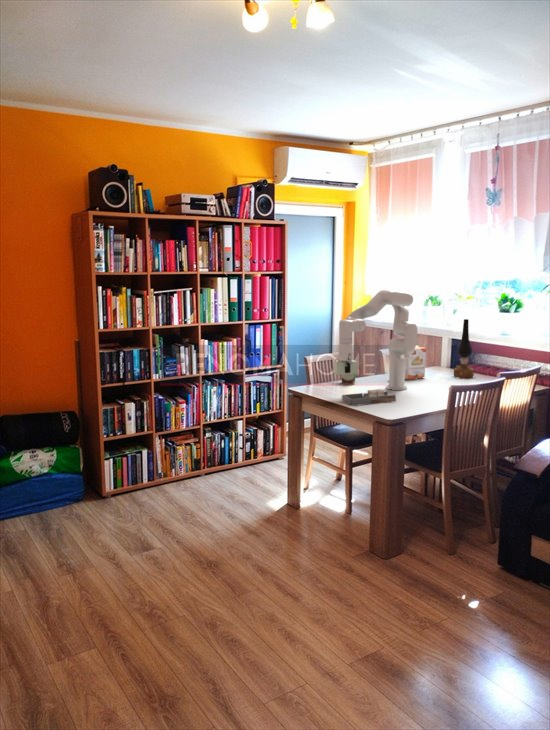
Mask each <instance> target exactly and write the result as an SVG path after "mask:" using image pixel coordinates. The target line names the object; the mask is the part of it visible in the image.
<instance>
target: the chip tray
mask: <svg viewBox="0 0 550 730" xmlns="http://www.w3.org/2000/svg"><path fill="white" fill-rule="evenodd" d="M342 400H343V401H344V403H345V402H346V403H345V404H347V403H348V404H347V405H349V404H350V405H349V406H351V405H353V406H359V405H358V404H364V405H371V404H370V403H372V397H371V398H365V397H363V393H362V392H361V393H350V394H342V395H341V401H342ZM343 401H342V402H343ZM372 404H373V403H372Z"/></svg>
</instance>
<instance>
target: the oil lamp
mask: <svg viewBox="0 0 550 730" xmlns="http://www.w3.org/2000/svg"><path fill="white" fill-rule="evenodd" d="M469 330H470V329H469V319H465V318H464V319H463V325H462V335H461V339H460V342H459V344H458V348H457V350H456V351H457V353H458V355H459V357H460V358H459V360H460V365H455V368H453V375H454V376H455V377H454V376H453V377H454V378H456V377H459V378H458V379H473V378H472V377H473V376H474V374H475V369H474V368H472V367H470V366H468V362H469V360H470V359H469V356H471V355H472V352H473V350H472V346H471V345H472V344H471V343H470V336H469V334H470V333H469ZM474 377H475V376H474Z"/></svg>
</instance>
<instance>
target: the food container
mask: <svg viewBox="0 0 550 730" xmlns="http://www.w3.org/2000/svg"><path fill="white" fill-rule="evenodd" d="M356 375H357V373H354V374H342V375H341V384H346V385H351V386H353V385H355V383H356Z"/></svg>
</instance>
